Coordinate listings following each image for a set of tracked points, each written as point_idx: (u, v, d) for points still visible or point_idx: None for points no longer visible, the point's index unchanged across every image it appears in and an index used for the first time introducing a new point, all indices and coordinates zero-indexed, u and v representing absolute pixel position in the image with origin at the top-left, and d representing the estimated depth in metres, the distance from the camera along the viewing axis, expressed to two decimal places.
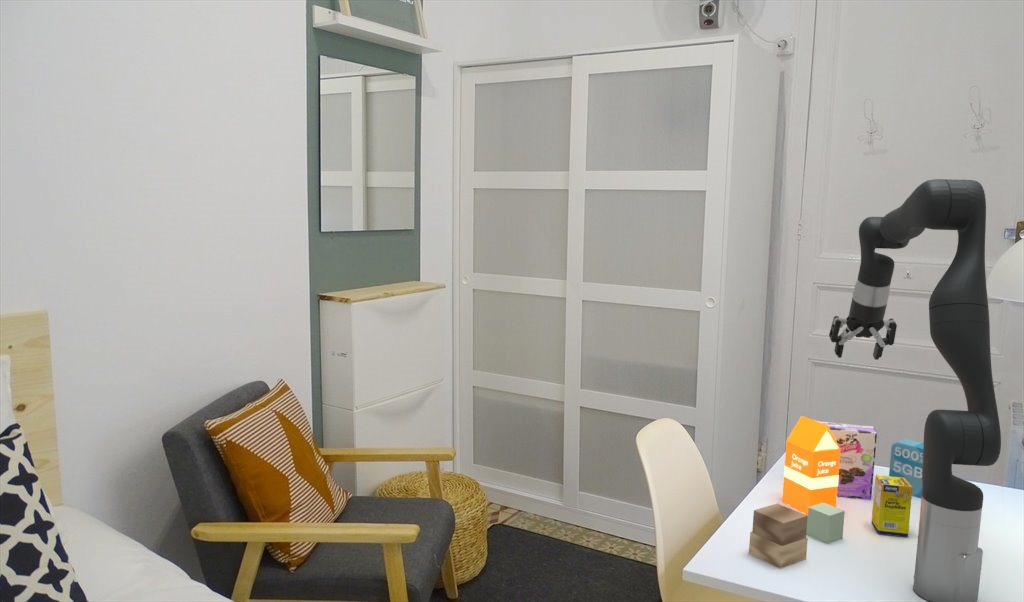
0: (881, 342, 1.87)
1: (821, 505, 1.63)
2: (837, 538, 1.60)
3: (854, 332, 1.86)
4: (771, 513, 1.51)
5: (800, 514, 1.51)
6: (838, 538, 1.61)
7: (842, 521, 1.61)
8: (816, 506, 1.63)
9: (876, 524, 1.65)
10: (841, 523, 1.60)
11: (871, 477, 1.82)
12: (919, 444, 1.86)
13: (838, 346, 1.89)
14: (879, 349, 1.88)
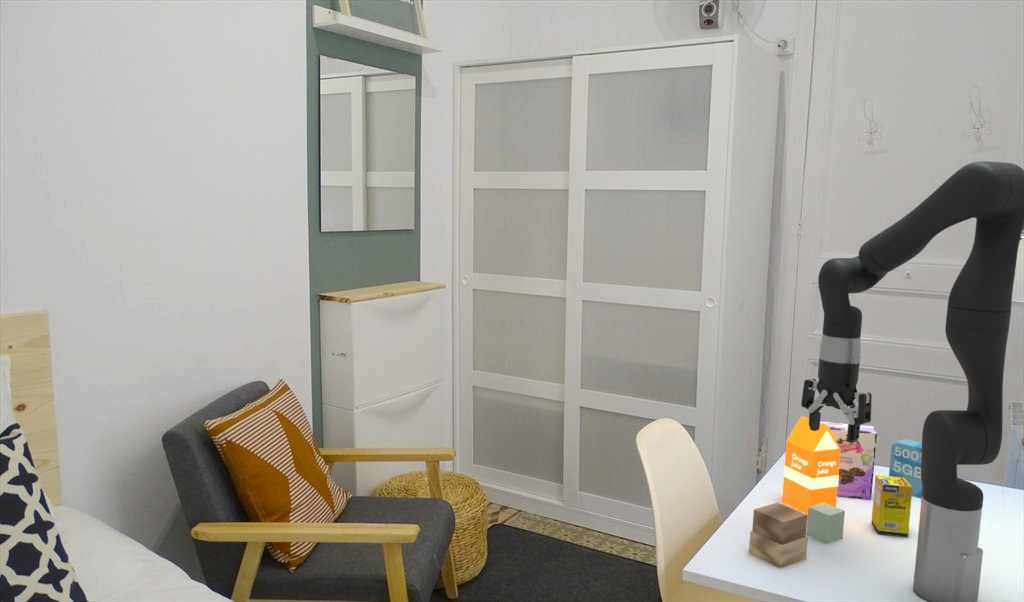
0: (850, 418, 1.54)
1: (821, 505, 1.63)
2: (837, 538, 1.60)
3: (820, 397, 1.59)
4: (771, 512, 1.51)
5: (800, 513, 1.51)
6: (838, 538, 1.61)
7: (842, 521, 1.61)
8: (816, 506, 1.63)
9: (876, 524, 1.65)
10: (841, 523, 1.60)
11: (871, 477, 1.82)
12: (919, 444, 1.86)
13: (810, 415, 1.63)
14: (849, 427, 1.55)
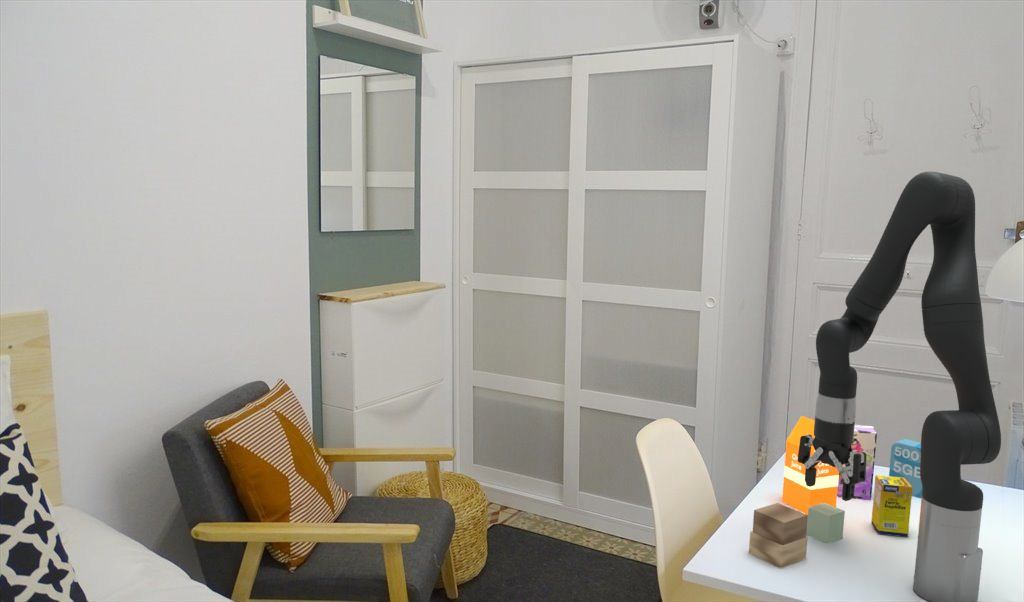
0: (845, 476, 1.56)
1: (821, 505, 1.63)
2: (837, 538, 1.60)
3: (816, 454, 1.61)
4: (771, 512, 1.51)
5: (800, 513, 1.51)
6: (838, 538, 1.61)
7: (842, 521, 1.61)
8: (816, 506, 1.63)
9: (876, 524, 1.65)
10: (841, 523, 1.60)
11: (871, 477, 1.82)
12: (919, 444, 1.86)
13: (806, 470, 1.65)
14: (844, 486, 1.57)
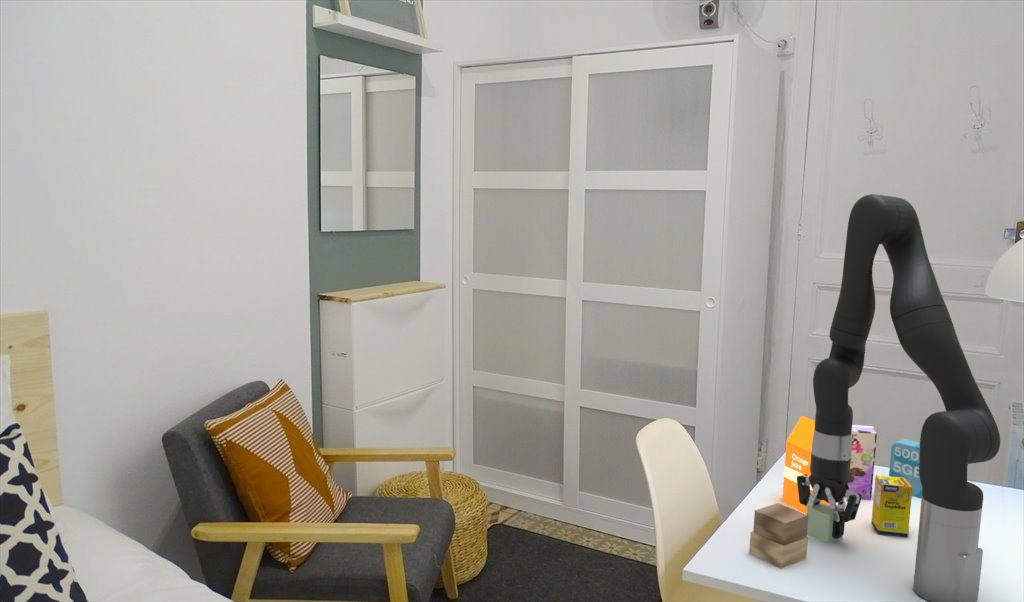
0: (836, 514, 1.58)
1: (821, 505, 1.63)
2: None
3: (814, 492, 1.62)
4: (772, 513, 1.51)
5: (801, 513, 1.51)
6: (838, 538, 1.61)
7: None
8: (816, 506, 1.63)
9: (876, 524, 1.65)
10: None
11: (871, 477, 1.82)
12: (919, 444, 1.86)
13: None
14: (834, 524, 1.59)
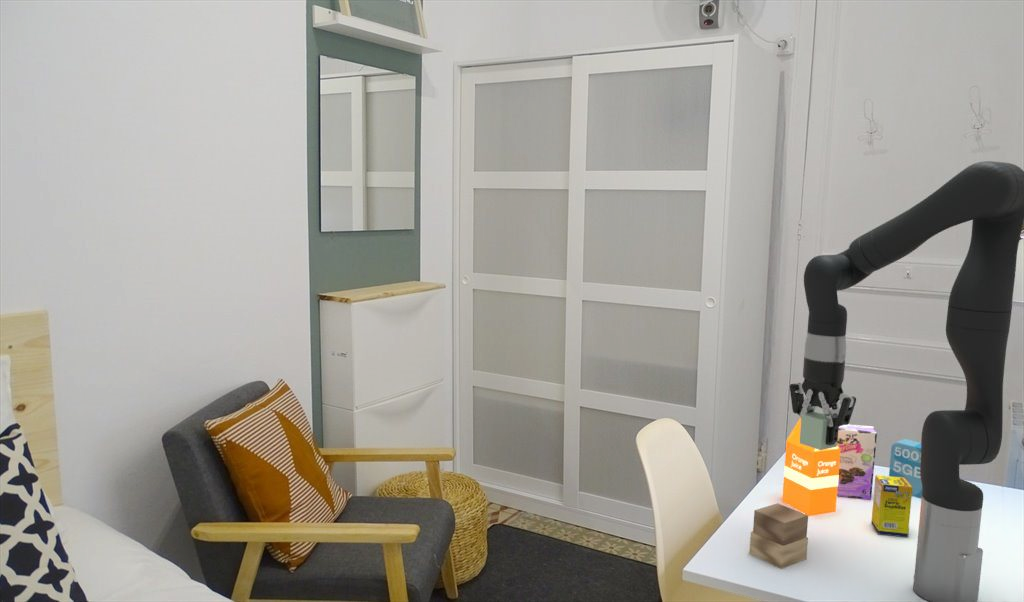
0: (829, 419, 1.52)
1: (815, 413, 1.58)
2: (831, 445, 1.55)
3: (807, 398, 1.56)
4: (772, 513, 1.51)
5: (801, 513, 1.51)
6: (832, 445, 1.55)
7: None
8: (810, 413, 1.57)
9: (876, 524, 1.65)
10: None
11: (871, 477, 1.82)
12: (919, 444, 1.86)
13: None
14: (828, 429, 1.53)
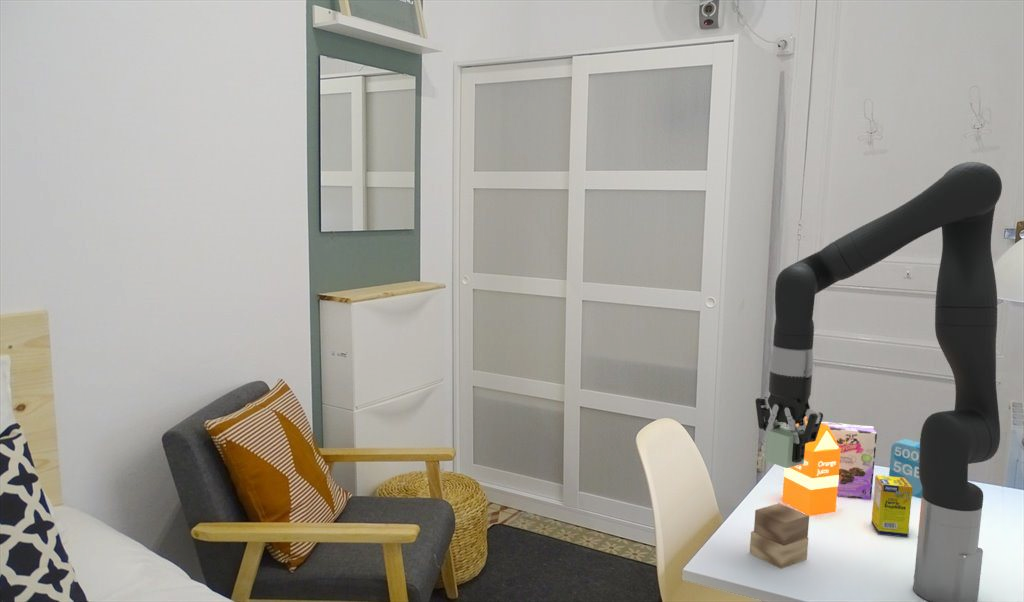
0: (795, 436, 1.46)
1: (781, 428, 1.51)
2: (798, 463, 1.48)
3: (773, 414, 1.50)
4: (773, 512, 1.51)
5: (802, 513, 1.51)
6: (799, 463, 1.49)
7: None
8: (776, 429, 1.51)
9: (876, 524, 1.65)
10: None
11: (871, 477, 1.82)
12: (919, 444, 1.86)
13: None
14: (794, 446, 1.47)
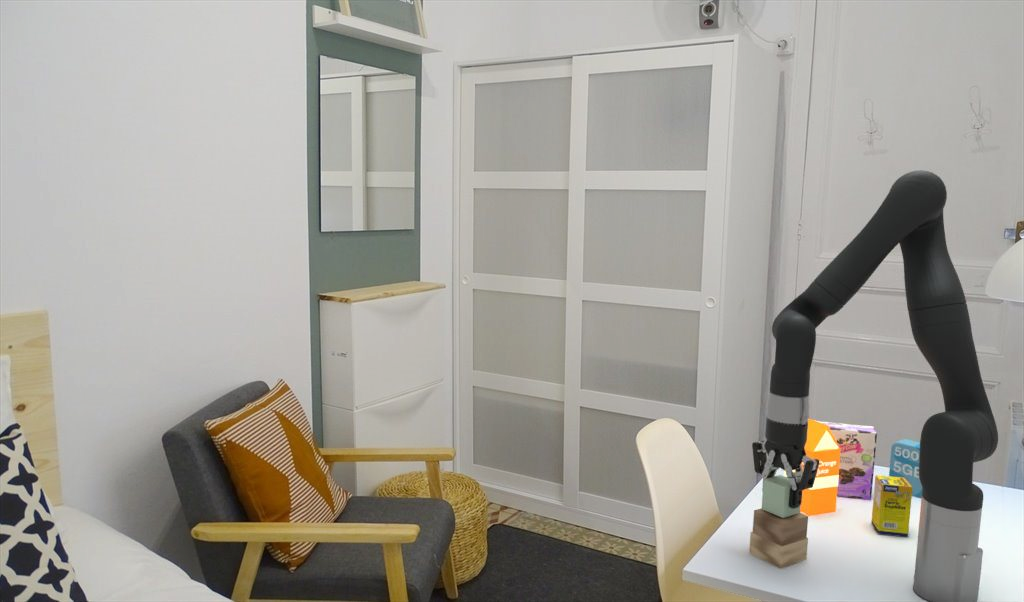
0: (793, 482, 1.47)
1: (777, 477, 1.53)
2: (794, 512, 1.50)
3: (769, 459, 1.51)
4: (771, 513, 1.51)
5: (801, 514, 1.51)
6: (795, 512, 1.50)
7: None
8: (772, 478, 1.52)
9: (876, 524, 1.65)
10: None
11: (871, 477, 1.82)
12: (919, 444, 1.86)
13: None
14: (791, 493, 1.48)
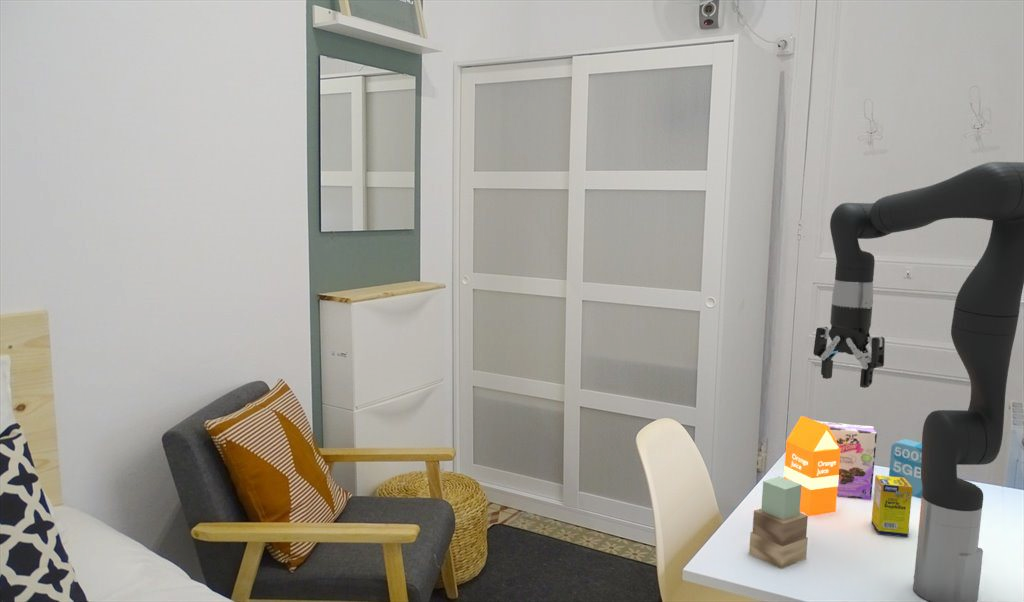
0: (863, 362, 1.55)
1: (777, 479, 1.52)
2: (794, 514, 1.50)
3: (832, 343, 1.60)
4: None
5: (800, 514, 1.51)
6: (795, 514, 1.50)
7: (799, 495, 1.50)
8: (772, 480, 1.52)
9: (876, 524, 1.65)
10: (797, 498, 1.50)
11: (871, 477, 1.82)
12: (919, 444, 1.86)
13: (823, 363, 1.63)
14: (862, 372, 1.55)
